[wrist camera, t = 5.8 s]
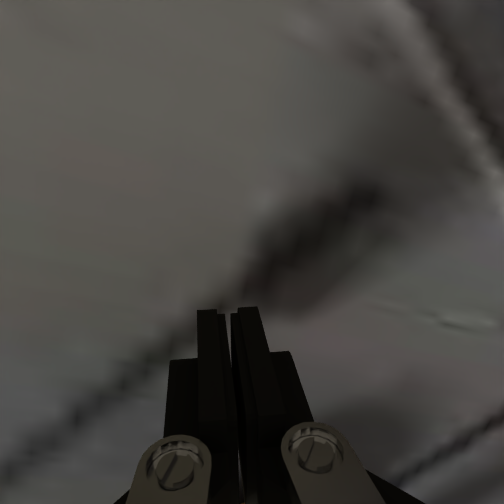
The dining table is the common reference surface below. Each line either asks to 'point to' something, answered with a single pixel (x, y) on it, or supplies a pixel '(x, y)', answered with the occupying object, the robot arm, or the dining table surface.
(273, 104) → the dining table surface
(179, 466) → the robot arm
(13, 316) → the dining table surface
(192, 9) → the dining table surface
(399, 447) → the dining table surface
